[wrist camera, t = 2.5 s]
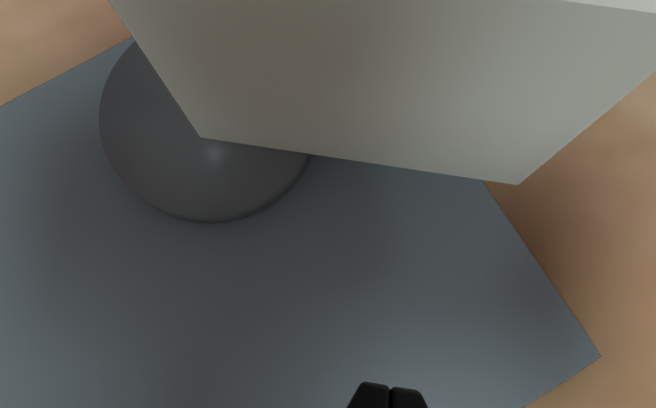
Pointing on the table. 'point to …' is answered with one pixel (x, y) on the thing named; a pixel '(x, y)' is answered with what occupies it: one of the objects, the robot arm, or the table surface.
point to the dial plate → (259, 283)
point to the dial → (356, 90)
